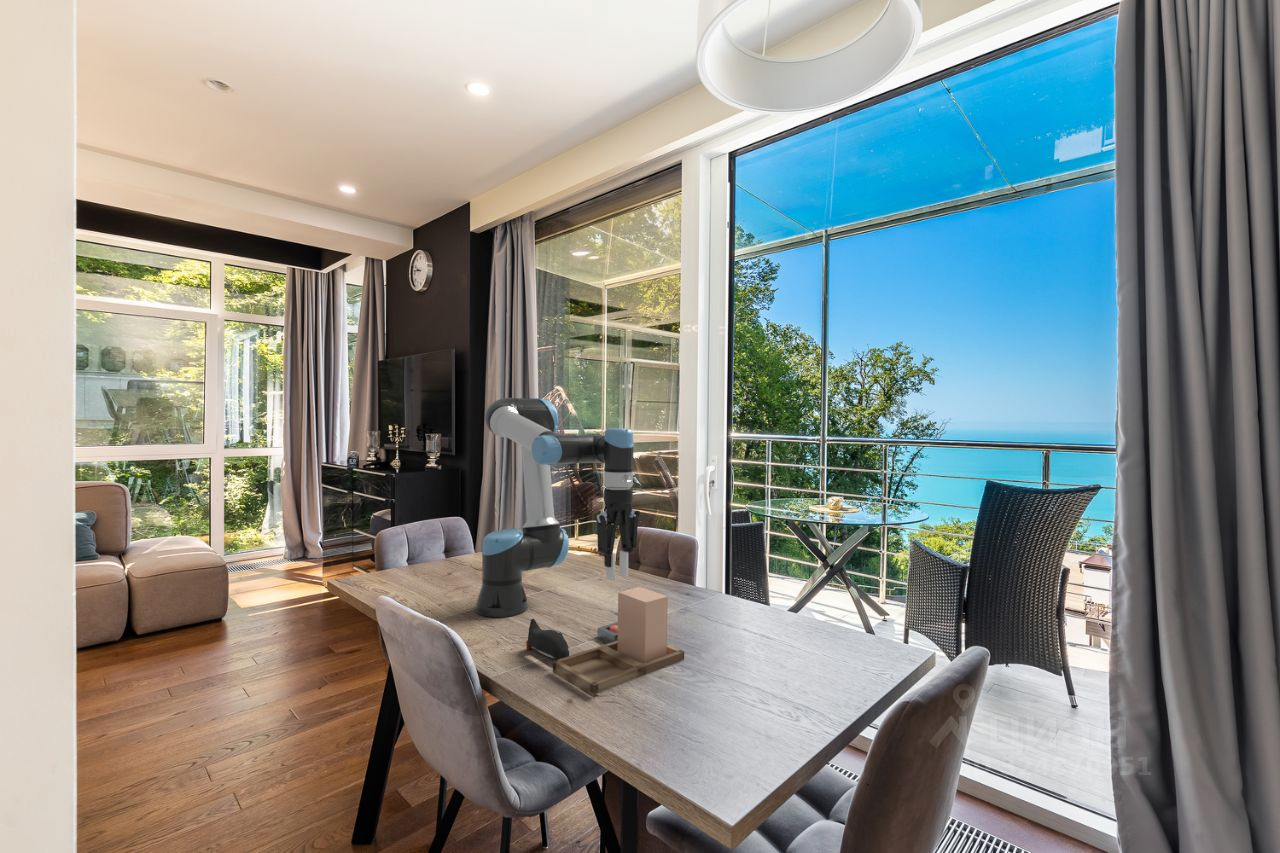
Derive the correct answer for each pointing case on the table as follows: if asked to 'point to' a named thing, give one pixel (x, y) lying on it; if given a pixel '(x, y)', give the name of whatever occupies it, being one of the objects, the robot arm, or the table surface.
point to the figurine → (547, 641)
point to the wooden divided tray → (608, 667)
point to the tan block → (642, 624)
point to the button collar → (607, 633)
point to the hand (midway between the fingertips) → (617, 577)
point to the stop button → (614, 628)
